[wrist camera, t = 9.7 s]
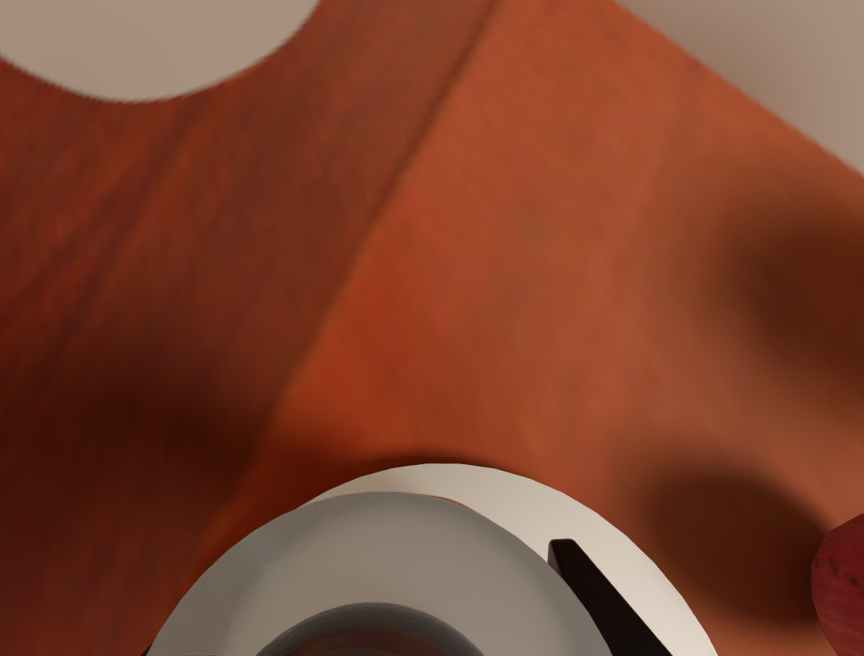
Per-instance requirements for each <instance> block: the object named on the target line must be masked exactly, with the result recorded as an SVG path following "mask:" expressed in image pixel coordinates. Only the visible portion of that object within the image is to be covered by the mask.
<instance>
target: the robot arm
mask: <svg viewBox="0 0 864 656" xmlns="http://www.w3.org/2000/svg"><path fill="white" fill-rule="evenodd" d="M547 563H548V564H549V565H550V566H551V567H552V569H553V570H554V571H555V572H556V573H557V574H558V575H559V576H560V577H561V578H562V579H563V580H564V581H565V582H566V583H567V585H568V586H569V587H570V589H571V590H572V591H573V593H574V594H575V595H576V597H577V598H578V599H579V601H580V602H581V603H582V605H583V606H584V607H585V609H586V610H587V611H588V613H589V615H590V616H591V618H592V620H593V621H594V623H595V625H596V627H597V628H598V630H599V632H600V633H601V635H602V637H603V639H604V640H605V642H606V644H607V645H608V647H609V650H610V652H611V654H612V656H673V655H672V654H671V653H670V652H669V650H668V649H667V648H666V647H665V646H664V645H663V643H662V642H661V641H660V640H659V639H658V638H657V636H656V635H655V634H654V633H653V632H652V631H651V629H650V628H649V627H648V626H647V625H646V623H645V622H644V621H643V620H642V619H641V618H640V616H639V615H638V614H637V613H636V612H635V611H634V609H633V608H632V607H631V606H630V605H629V604H628V602H627V601H626V600H625V599H624V598H623V596H622V595H621V594H620V593H619V592H618V591H617V589H616V588H615V587H614V586H613V585H612V584H611V582H610V581H609V580H608V579H607V578H606V577H605V575H604V574H603V573H602V572H601V571H600V569H599V568H598V567H597V566H596V565H595V564H594V562H593V561H592V560H591V559H590V558H589V557H588V555H587V554H586V553H585V552H584V551H583V550H582V548H581V547H580V546H579V545H578V544H577V543H576V541H574V540H573V539H570V538H565V539H552V540H550V542H549V545H548V560H547ZM152 644H153V643H152ZM152 644H151V645H150V646H149V647H148V648H147V649H146V650H145V651H144V652H143V654H142V655H141V656H146V655H147V653H148V651H149V650H150V648H151V646H152Z"/></svg>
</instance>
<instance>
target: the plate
mask: <svg viewBox="0 0 864 656" xmlns="http://www.w3.org/2000/svg"><path fill="white" fill-rule="evenodd" d="M370 491H377V492H406V493H415V494H424V495H434V496H440V497H446V498H449V499H452V500H455V501H457V502H460V503H462V504H464V505H466V506H467V507H469V508H471V509H473V510H474V511H476V512H478V513H480V514H481V515H483V516H485V517H486V518H488V519H490V520H491V521H493V522H495V523H496V524H498V525H499V526H501V527H502V528H504V529H506V530H507V531H509V532H510V533H512V534H514V535H515V536H517V537H518V538H519V539H520V540H521V541H523V542H524V543H525V544H526V545H528V546H529V547H530V548H531V549H532V550H534V551H535V552H536V553H537V554H538V555H540V556H541V557H542V558H543V559H544V560H545V561H546V562H547V560H548V545H549V542H550V540H552V539H565V538H570V539H573V540H574V541H576V543H577V544H578V545H579V546H580V547H581V548H582V550H583V551H584V552H585V553H586V554H587V555H588V557H589V558H590V559H591V560H592V561H593V562H594V564H595V565H596V566H597V567H598V568H599V569H600V571H601V572H602V573H603V574H604V575H605V577H606V578H607V579H608V580H609V581H610V582H611V584H612V585H613V586H614V587H615V588H616V589H617V591H618V592H619V593H620V594H621V595H622V596H623V598H624V599H625V600H626V601H627V602H628V604H629V605H630V606H631V607H632V608H633V609H634V611H635V612H636V613H637V614H638V615H639V616H640V618H641V619H642V620H643V621H644V622H645V623H646V625H647V626H648V627H649V628H650V629H651V631H652V632H653V633H654V634H655V635H656V636H657V638H658V639H659V640H660V641H661V642H662V643H663V645H664V646H665V647H666V648H667V649H668V650H669V652H670V653H671V654H672V655H673V656H718V655H717V653H716V651H715V649H714V647H713V645H712V643H711V642H710V640H709V638H708V636H707V634H706V632H705V631H704V629H703V628H702V626H701V625H700V623H699V622H698V620H697V619H696V617H695V616H694V614H693V613H692V611H691V610H690V608H689V606H688V605H687V603H686V602H685V600H684V599H683V597H682V596H681V595H680V594H679V592H678V591H677V590H676V589H675V588H674V586H673V585H672V584H671V583H670V581H669V580H668V579H667V578H666V577H665V575H664V574H663V573H662V572H661V571H660V569H659V568H658V567H657V566H656V564H655V563H654V562H653V561H652V560H650V559H649V558H648V557H647V556H646V555H645V554H644V553H643V552H642V551H641V550H640V549H639V548H638V547H637V546H636V545H635V544H634V543H633V542H632V541H631V540H630V539H629V538H628V537H627V536H626V535H624V534H623V533H622V532H621V531H619V530H618V529H617V528H615V527H614V526H613V525H611V524H610V523H609V522H607V521H606V520H605V519H604V518H602V517H601V516H600V515H598V514H597V513H596V512H594V511H593V510H591V509H589V508H587V507H586V506H584V505H582V504H581V503H579V502H577V501H576V500H574V499H572V498H570V497H569V496H567V495H565V494H564V493H562V492H559V491H557V490H555V489H552V488H550V487H548V486H545V485H543V484H541V483H539V482H536V481H534V480H532V479H529V478H526V477H522V476H519V475H515V474H512V473H508V472H505V471H501V470H497V469H493V468H486V467H479V466H472V465H465V464H421V465H413V466H405V467H398V468H392V469H388V470H384V471H381V472H377V473H373V474H369V475H366V476H362V477H359V478H357V479H354V480H352V481H349V482H347V483H345V484H342V485H340V486H337V487H335V488H333V489H330V490H328V491H326V492H324V493H323V494H321V495H319V496H317V497H316V498H314V499H312V500H311V501H309V502H307V503H305V504H304V505H302V506H305V505H307V504H309V503H312V502H316V501H320V500H324V499H327V498H331V497H335V496H339V495H345V494H353V493H362V492H370ZM302 506H300V507H302ZM300 507H298V508H300Z"/></svg>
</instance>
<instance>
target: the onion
mask: <svg viewBox="0 0 864 656" xmlns="http://www.w3.org/2000/svg"><path fill="white" fill-rule="evenodd" d="M811 597H812V600H813V603H814V606H815V609H816V612H817V615H818V619H819V622H820V625H821V628H822V630H823V632H824V635H825V637H826V639H827V640H828V642H829V643H830V644H831V646H832V647H833V649H834V650H835V652H836V653H837V655H838V656H864V514H860V515H859V516H857V517H855V518H853V519H851V520H849V521H848V522H846V523H844V524H842V525H840V526H839V527H837V528H835V529H833V530H831V531H830V532H829V534H828V535H827V536H826V537H825V538H824V539H823V541H822V543H821V545H820V548H819V550H818V552H817V554H816V556H815V558H814V560H813V562H812V564H811Z"/></svg>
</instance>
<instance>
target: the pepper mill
mask: <svg viewBox="0 0 864 656" xmlns="http://www.w3.org/2000/svg"><path fill="white" fill-rule="evenodd" d="M146 656H612V654H611V652H610V650H609V647H608V645H607V644H606V642H605V640H604V639H603V637H602V635H601V633H600V632H599V630H598V628H597V627H596V625H595V623H594V621H593V620H592V618H591V616H590V615H589V613H588V611H587V610H586V609H585V607H584V606H583V605H582V603H581V602H580V601H579V599H578V598H577V597H576V595H575V594H574V593H573V591H572V590H571V589H570V587H569V586H568V585H567V583H566V582H565V581H564V580H563V579H562V578H561V577H560V576H559V575H558V574H557V573H556V572H555V571H554V570H553V569H552V567H551V566H550V565H549V564H548V563H547V562H546V561H545V560H544V559H543V558H542V557H541V556H540V555H538V554H537V553H536V552H535V551H534V550H532V549H531V548H530V547H529V546H528V545H526V544H525V543H524V542H523V541H521V540H520V539H519V538H518V537H517V536H515V535H514V534H512V533H510V532H509V531H507V530H506V529H504V528H502V527H501V526H499V525H498V524H496V523H495V522H493V521H491V520H490V519H488V518H486V517H485V516H483V515H481V514H480V513H478V512H476V511H474V510H473V509H471V508H469V507H467V506H466V505H464V504H462V503H460V502H457V501H455V500H452V499H449V498H446V497H440V496H434V495H424V494H415V493H406V492H377V491H370V492H362V493H353V494H345V495H339V496H335V497H331V498H327V499H324V500H320V501H316V502H312V503H309V504H307V505H305V506H302V507H300V508H297V509H295V510H292V511H290V512H287V513H285V514H283V515H281V516H279V517H277V518H275V519H274V520H272V521H270V522H268V523H267V524H265V525H263V526H261V527H260V528H258V529H256V530H254V531H253V532H252V533H250V534H249V535H248V536H246V537H245V538H244V539H242V540H241V541H240V542H238V543H237V544H236V545H234V546H233V547H231V548H230V549H229V550H228V551H227V552H225V553H224V554H223V555H222V556H221V557H220V558H219V559H218V560H217V561H216V562H215V563H214V564H213V565H212V566H211V567H210V568H208V569H207V570H206V571H205V572H204V573H203V574H202V575H201V577H200V578H199V579H198V580H197V581H196V583H195V584H194V585H193V586H192V587H191V588H190V590H189V591H188V592H187V593H186V594H185V595H184V597H183V598H182V599H181V600H180V601H179V603H178V604H177V606H176V607H175V609H174V610H173V612H172V613H171V615H170V616H169V618H168V619H167V621H166V622H165V624H164V625H163V627H162V628H161V630H160V631H159V633H158V635H157V636H156V638H155V640H154V642H153V644H152V646H151V648H150V650H149V651H148V653H147V655H146Z"/></svg>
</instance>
